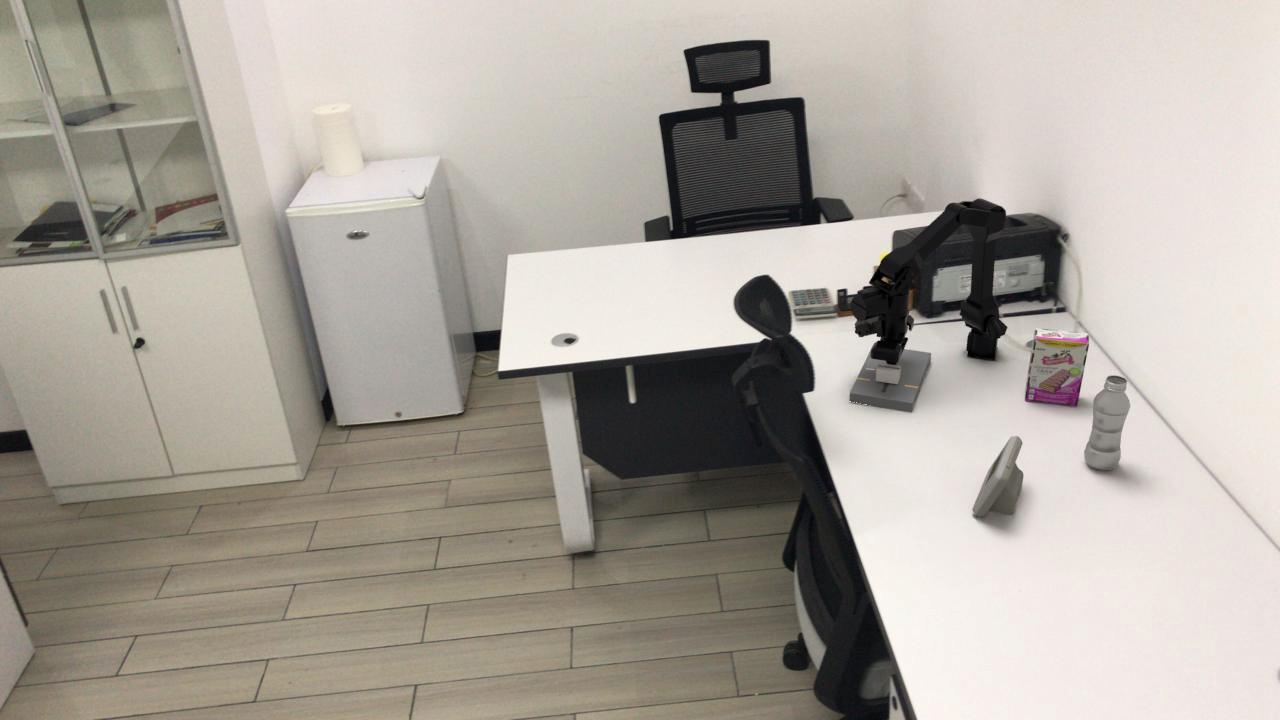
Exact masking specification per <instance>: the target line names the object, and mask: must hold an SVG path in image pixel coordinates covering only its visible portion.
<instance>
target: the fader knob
mask: <svg viewBox="0 0 1280 720" xmlns="http://www.w3.org/2000/svg"><path fill="white" fill-rule="evenodd" d="M900 376H901V366H898V365H891V364H884V363H879V365H878V367H877V369H876V381H879V382H886V383H892V384H898V382H899V380H900Z"/></svg>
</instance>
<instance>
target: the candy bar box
mask: <svg viewBox="0 0 1280 720" xmlns="http://www.w3.org/2000/svg"><path fill="white" fill-rule="evenodd" d="M1033 332H1034V333H1033V338H1032V344H1031V350H1030V351H1031V352H1030V358H1029V364H1028V369H1027V375H1026V381H1025V382H1026V383H1025V389H1024V392H1025V393H1024V401H1026V402H1033V401H1034V403H1041V404H1042V403H1043V404H1044V403H1045V404H1053V405H1059V404H1060V405H1061V406H1069V407H1070V406H1071V407H1078V403H1079V398H1080V394H1081V388H1082V383H1083V378H1084V372H1085V368H1086V363H1087V357H1088V351H1089V347H1090V336H1089V333H1087V332H1079V331H1078V332H1077V331H1066V330H1057V329H1056V330H1055V329H1049V328H1048V329H1047V328H1046V329H1045V328H1037V327H1036V328H1034V331H1033Z"/></svg>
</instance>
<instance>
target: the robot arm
mask: <svg viewBox="0 0 1280 720" xmlns="http://www.w3.org/2000/svg"><path fill="white" fill-rule="evenodd" d="M1006 218H1007V212H1006V209H1005V208H1004V207H1003V206H1001V205H999V204H997V203H994V202H991V201H989V200H987V199H984V198H981V197H979V198H976V199H974V200H962V201H960V202H949V203H948V204H947V205H946V206H945V208H944V210H943V212H941V214H939V215H938V216H937V217H936V218H935V219H934V220H933V221H931V223H930V224H929V225H927V226H926V227H925V228H924V229H923V230H921V232H920V233H919V234H918V235H917V236H915V238H913V239H912V240H911V241H910V242H909V243H907V244H906V245H903V246H899V247H896V248H894V249H893V250H891V251H890V252H889V253H887V254H886V255H885V256H884V257H883V258H882V259H881V260H880V263H879V265H878V267H877V268H876V270H875V271H874V273H873V274H872V276H871V278H870V280H869V281H868V284H869V285H871V287H869V288H866V289H859V290H857V291H856V295H855V296H853V297H852V299H851V301H850V305H849V306H850V310H851V314H852V317H854V318H855V319H856V321H855V323H854V329H855V330H854V333H855V334H856V335H857V336H858V337H859V338H864V337H868V336H871V335H876V337H877V338H880V339H879V340H876V341H875V342H874V343H873V344H872V346H873V347H872V346H871V348H872V349H871V348H870V350H871V358H872V359H877V360H883V361H886V363H887V364H891V365H896V363H897V362H898V361H899V359H900V356H901V354H902V353H903V350H904V349H906V348H905V347H906V345H907V343H908V340H909V337H906V335H907V333H908V331H909V332H912V330H913V328H914V326H915V318H914V317H912V316H913V315H910V309H909V300H910V299H909V298H910V291H913V290H916V289H918V288H919V287H918V285H917V284H915V283H914V280H915V279H916V278H917V276H918V275H919V274H920V272H921V271H922V268H923V265H924V262H925V261H926V260H927V258H928V257H930V256H931V254H933V253H934V252H935V251H936V250H937V249H938V248H939V247H940V246H941V245H942V244H943V243H944V242H946V241H947V240H948V239H949V238H950V237H951V236H952V235H953V234H955V232H957V230H959V229H960V228H961V227H962V226H963V225H966V226H967V229H968V231H969V233H970V234H971V237H972V255H971V259H972V260H971V276H970V278H971V279H970V293H969V295H967V297H966V299H963V300H961V301H960V303H959V304H960V311H959V316H961V320H962V321H963V322H964V324H965V327H967V328H969V329H970V331H969V332H968V334H967V338H966V339H967V340H966V345H965V346H966V348H965V351H966V352H967V354H966V357H967V358H975V359H980V360H981V359H982V360H990V361H995V360H996V357H997V354H998V351H999V350H998V349H999V347H998V342H999V340H1000V339H1001V337H1003V336H1005V335H1006V333H1007V330H1008V325H1006V324H1005V322H1003V321H1002V320H1001V319H1000V310H999V309H1000V308H999V305H998V303H997V300H996V299H995V296H994V279H995V278H994V277H995V263H996V262H995V261H996V245H997V239H998V237H999V236H1000V235H1001V234H1002V232H1003V231H1004V228H1005V224H1006ZM883 279H886V280H888V281H890V282H892V283H889V282H887V281H885V280H883Z"/></svg>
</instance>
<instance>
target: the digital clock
mask: <svg viewBox="0 0 1280 720" xmlns="http://www.w3.org/2000/svg"><path fill="white" fill-rule="evenodd" d="M1023 445H1024V444H1023V441H1022V439H1021V437H1020V436H1018V435H1012V436H1010V437H1009V439H1008V440H1007V442H1006V443H1005V445H1004V446H1003V448H1002V449H1001V451H1000V452H999V453H998V455H997V456H996V458H995V460H994V461H993V462H992V464H991V465H990V467H989V469H988V470H987V473H986V475H985V478H984V481H983V482H982V485H981V487H980V489H979V492H978V494H977V496H976V499H975V501H974V504H973V506H972V513H973V514H974V516H975V517H979V518H982V517H985V516H986V514H987V513H988V512H994V513H998V514H1002V515H1007V516H1013V515H1014V512H1015V508H1016V506H1017V502H1018V501H1019V498H1020V494H1021V493H1022V489H1023V482H1024V472H1023V471H1022V470H1021V469H1020V468H1019V467H1018V465H1017V463H1016V462H1017V459H1018V457H1019V454H1020V451H1021V450H1022V446H1023Z"/></svg>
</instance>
